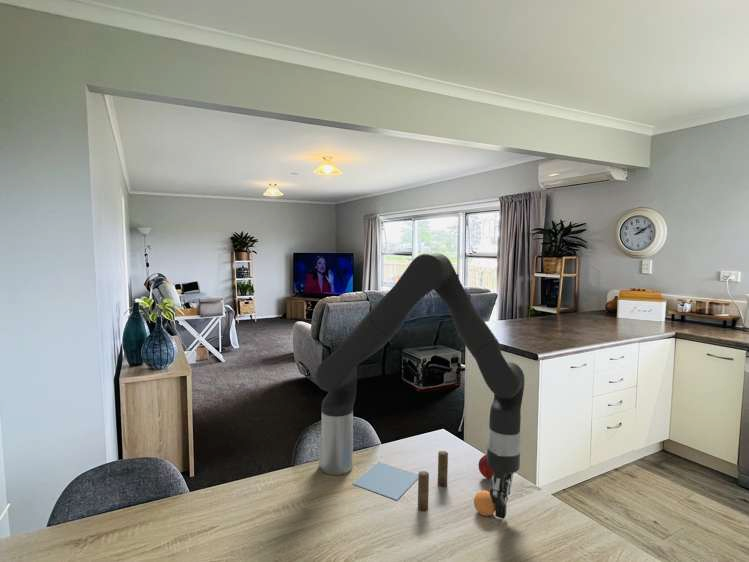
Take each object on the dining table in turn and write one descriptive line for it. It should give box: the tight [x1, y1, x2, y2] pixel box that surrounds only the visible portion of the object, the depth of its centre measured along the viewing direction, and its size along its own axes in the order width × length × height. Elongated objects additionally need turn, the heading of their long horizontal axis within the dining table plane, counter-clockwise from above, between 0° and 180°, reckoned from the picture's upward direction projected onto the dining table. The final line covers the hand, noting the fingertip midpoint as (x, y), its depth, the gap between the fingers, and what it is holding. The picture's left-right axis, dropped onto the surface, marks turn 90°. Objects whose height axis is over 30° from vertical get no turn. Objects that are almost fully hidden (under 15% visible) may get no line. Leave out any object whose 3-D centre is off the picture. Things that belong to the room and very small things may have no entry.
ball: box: [473, 489, 496, 517], centre depth 103 cm, size 6×6×6 cm
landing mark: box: [352, 461, 418, 501], centre depth 118 cm, size 14×14×1 cm
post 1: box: [417, 470, 430, 512], centre depth 105 cm, size 3×3×9 cm
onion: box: [478, 454, 495, 480], centre depth 119 cm, size 6×6×8 cm
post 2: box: [437, 450, 449, 488], centre depth 116 cm, size 3×3×9 cm
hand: (500, 516), depth 102 cm, fingers closed
